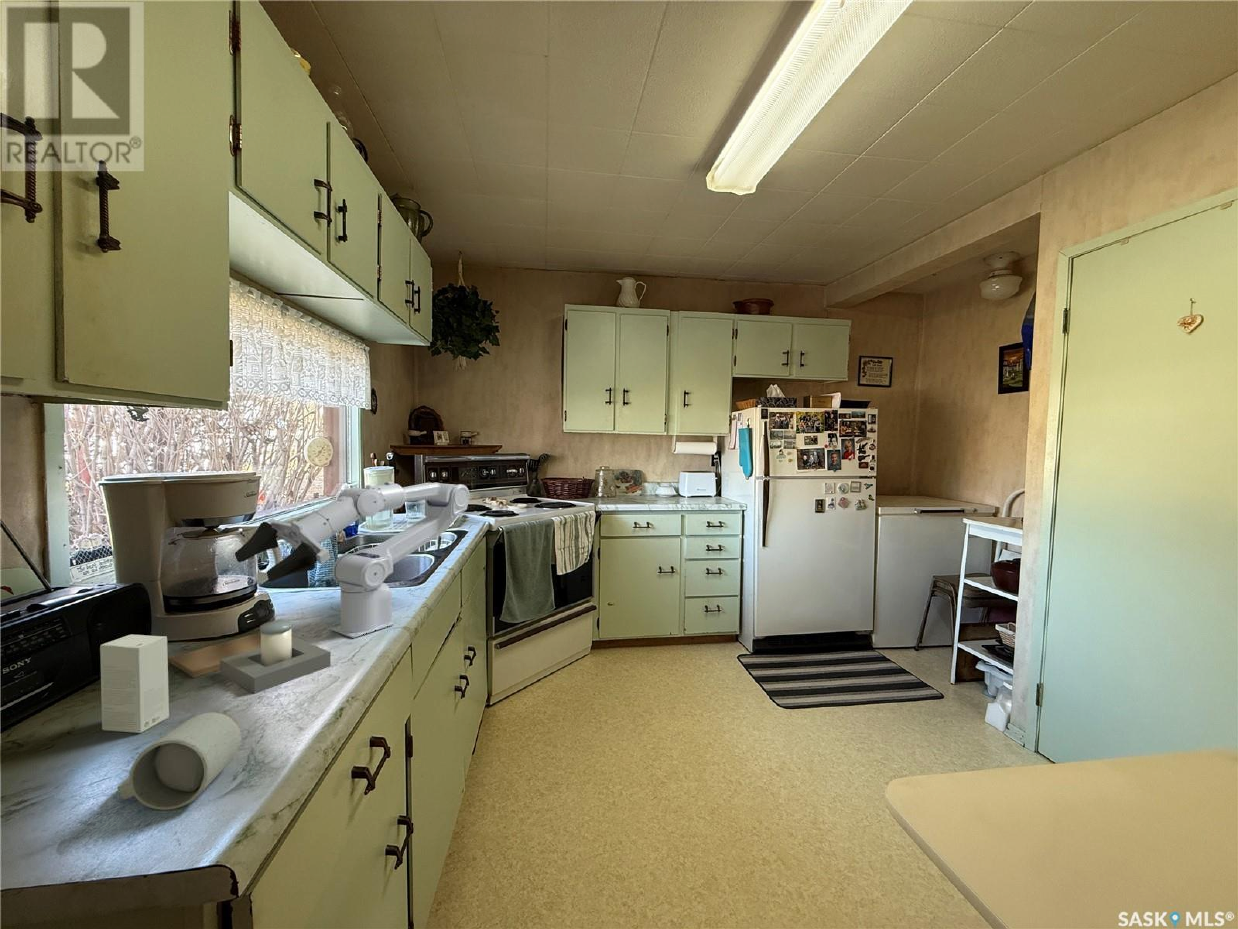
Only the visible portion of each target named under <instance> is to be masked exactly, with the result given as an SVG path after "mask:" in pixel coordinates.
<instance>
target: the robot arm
mask: <svg viewBox="0 0 1238 929" xmlns="http://www.w3.org/2000/svg"><path fill="white" fill-rule="evenodd" d="M419 500H424V516H425V517H424V518H422V519H421V520H419V521H417V522H416V523H414V524H413V525H411V526H409V527H407V528H405V529H403V530H402V531H400V532H398V533H396V534H395V535H393V536H391V537H389V538H388V539H386V540H384V541H383V542H381V543H379V544H377V545H376V546H374V547H368V548H363V549H360V550H359V549H358V551H355V552H353V553H344V554H341V555H340V556H339V557H338V558H337V559H336V560H335V562H334V564H333V567H332V576H333V578H334V580H335V581H336V582H337V583H338V587H339V589H340V624H339V625H337V626H333V627H331V631H333V632H336V633H338V634H341V635H343V636H346V637H349V638H351V639H355V638H358V637H361V636H364V635H367V634H370V633H372V632H376V631H379V630H382V629H385V628H387V626H388V627H390V626H393V625H394V624H395V622H393V621H392V620H393V619H392V618H393V617H392V616H393V615H392V614H393V613H392V612H393V607H392V606H393V603H392V602H393V601H392V600H393V599H392V598H393V597H392V591H391V588H390V587H389V586H388V584H387V583H385V582H384V581H385V579H386V578H388V576H390V575H392V574H393V573H394V564H396V563H398V562H399V561H401V560H402V559H404V558H405V557H407V556H409V555H410V554H412V553H413V552H415V551H416V550H418V549H419V548H421V547H423V546H424V545H426V544H427V543H429V542H431V541H432V540H434V539H435V538H437V537H438V536H440V535H441V534H443V533H445V532H447V530H449V528H450V526H451V525H452V524H453V523H454V521H455V520H456V519H457V518H458V516H459V515H460V514H462V513H463V512H465V511H466V510H467V509H468V505H469V501H470V490H469V488H468V487H467V486H466V485H465V484H461V483H459V484H450V483H440V482H424V483H418V484H414V485H409V486H403V487H402V486H401V485H400V484H399V483H394V482H393V481H384V484H382V485H374V484H366V485H365V487H364V488H360V487H359V488H357V487H351V488H347V489H346V488H344V489H342V490H341V491H340V493H339V494H338V496H337V497H336V499H334V500H333V501H332V502H329V503H328V504H326V505H324V506H323V507H320V508H319V509H317V510H316V511H314V512H312V513H310V514H309V515H307V516H305V517H304V518H302V519H300V520H299V521H297V520H293V521H291V522H284V521H279V520H276V519H274V518H273V517H272V518H270V519H268V520H267V521H263V522H261V523H260V524H259V525H258V527H257V529H256V530H255V532H254V533H253V534H252V536H251V537H250V538H249V539H248V540H247V541H246V542H245V543H244V544H243V545H242V546H241V547H240V548H239V549H238V550H237V551H235V552H234V556H235V559H236V561H237V562H238V563H242V562H245V561H247V560H249V559H251V558H253V557H255V556H256V555H258V554H261V553H263V552H265V551H269V550H272V549H276V548H277V549H278V547H279V543H278V538H279V539H281V540H283V541H285V542H286V543H288V544H289V545H290V546H292V547H293V549H294V550H293V551H292V552H291V553H290V554H289V555H288V556H286V557H285V558H284V559H282V560H281V561H279V562H277V564H275V565H273V566H272V567H270V568H269V569H268V570H267V571H266V576H267V579H268V581H269V582H274V581H277V580H279V579H281V578H282V579H283V578H284V577H286V576H289V575H294V574H297V573H303V572H307V571H309V572H310V571H313V570H314V569H316V563H319V564H320V565H323V564H324V563H325V562H327V561H328V560H330V559H331V555H330V550H329V549H327V548H325V547H324V546H323V545H322V543H324V542H325V541H326V540H327V541H328V540H329V539H330V538H331V537H333V536H334V535H336V534H338V533H339V532H341V531H342V530H344V529H345V528H347V527H349V526H350V525H351V524H353V523H355V522H356V521H358V520H360V519H361V517H363V518H365V517H367V518H369V517H370V518H373V517H374V516H376V515H377V514H378V513H383V512H387V511H392V510H397V509H401V508H402V507H403V505H404V504H405V503H406V502H412V501H419ZM375 630H376V631H375ZM366 633H367V634H366ZM363 634H364V635H363Z"/></svg>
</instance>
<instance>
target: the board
mask: <svg viewBox="0 0 1238 929" xmlns="http://www.w3.org/2000/svg"><path fill="white" fill-rule="evenodd" d="M260 647H261V633H260V632H257V633H253V634H249V635H246V636H241V637H238V638H235V639H230V640H227V641H224V642H220V643H217V644H213V645H210V646H206V647H205V646H204V647H202V648H201V647H200V648H199V649H195V650H192V651H191V650H190V651H188V652H184V653H180V654H177V655H176V654H175V655H173V656H170V657H169V664H171V665H173V666H175V667H176V668H177V669H179V670H181V671H182V672H184V673H185V674H187V675H189V676H191V677H192V678H198V677H200V676H204V675H206V674H210V673H213V672H216V671H219V670H220V659H224V658H227V657H230V656H233V655H237V654H240V653H243V652H247V651H250V650H253V649H257V648H260Z"/></svg>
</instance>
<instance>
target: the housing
mask: <svg viewBox="0 0 1238 929" xmlns="http://www.w3.org/2000/svg"><path fill="white" fill-rule="evenodd" d="M291 641H292V658H291V659H288V660H285V661H282V662H279V663H276V664H273V665H270V666H267V667H264V666H262V665H261V647H260V648H257V649H253V650H250V651H247V652H243V653H240V654H237V655H233V656H230V657H227V658H224V659H220V669H219V670H220V671H219V672H220V675H222V676H223V677H225V678H227V679H228V680H230V681H232V682H234V683H235V684H237V685H239V686H240V687H242V688H244V689H246V690H248V691H249V692H251V693H253V694H256V693H261V692H263V691H265V690H267V689H268V690H269V689H271V688H273V687H277V686H278V685H281V684H286V683H287V682H289V681H292V680H294V679H298V678H301V677H303V676H305V675H309V674H311V673H314V672H317V671H320V670H323V669H325V668H328V667H331V651H329V650H327V649H324V648H323V647H320V646H317V645H315V644H312V643H310V642H308V641H305V640H303V639H300V638H298V637H296V636H294V637H291Z"/></svg>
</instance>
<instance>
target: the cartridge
mask: <svg viewBox="0 0 1238 929" xmlns="http://www.w3.org/2000/svg"><path fill="white" fill-rule="evenodd" d="M292 628H293V621H291V620H289V619H288V620H287V619H282V620H273V621H269V622H266V623H263V624H262V625H260V626H259V630H260V631H259V633H260V634H261V665H262V666H264V667H267V666H270V665H273V664H276V663H279V662H282V661H285V660H288V659H291V658H292V641H291V638H292Z"/></svg>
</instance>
